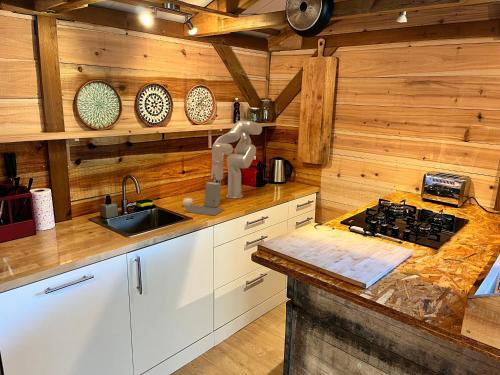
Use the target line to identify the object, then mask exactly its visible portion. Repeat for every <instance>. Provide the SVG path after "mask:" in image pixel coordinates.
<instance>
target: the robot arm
mask: <svg viewBox="0 0 500 375" xmlns="http://www.w3.org/2000/svg"><path fill="white" fill-rule="evenodd" d="M262 131H263V126H262V125H261V123H258V122H255V121H252V120H237V121H236V122H235V123H234V125H233V126H232V127H231V129H230V130H229V131H228V132H227V133H224V134H222V135H221V136H218V137H217V138H216V140H215V141H214V142H213V144H212V145H211V171H210V174H211V175H210V179H211V181H212V182H214V183H219V184H222V183H221V181H222V180H223V179H224V156H225V155H226V156H227V157H226V165H227V194H226V195H225V197H226V198H229V199H235V200H237V199H242V198H243V197H244V195H243V194H242V191H243V189H242V172H241V169H248V168H249V167H250V166H251V165H252V163H253V161H254V159H255V156H256V154H257V148H256V146H255V145H254V144H252V140H251V137H250V135H253V136H254V135H255V136H256V135H260V134H261V133H262ZM237 141H238V143H237V145H236V146H235V148H233V145H232V144H230V143H234V142H235V143H236V142H237ZM233 150H234V153H233ZM240 168H241V169H240Z"/></svg>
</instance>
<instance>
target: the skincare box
mask: <svg viewBox="0 0 500 375" xmlns="http://www.w3.org/2000/svg"><path fill="white" fill-rule="evenodd" d="M221 187H222V183H220V184H219V183H215V182H213V181H210V182H205V191H204V193H205V194H204V202H203V203H204V207H212V208H218V207H220V201H221V200H220V199H221V190H222V189H221Z"/></svg>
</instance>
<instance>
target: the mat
mask: <svg viewBox="0 0 500 375" xmlns="http://www.w3.org/2000/svg"><path fill="white" fill-rule="evenodd" d="M225 210H226V209H225V208H220V207H219V208H218V207H215V208H214V207H207V206H203V205H193V206H192V207H188V208H187V209H185V210H183V212H184V213H190V214H199V215H205V216H212V217H216V216H217V215H219V214H221V213H222V212H224V211H225Z"/></svg>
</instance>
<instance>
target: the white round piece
mask: <svg viewBox="0 0 500 375" xmlns="http://www.w3.org/2000/svg"><path fill="white" fill-rule="evenodd" d="M182 203H183V208H191V207H193V206H194V204H193V203H194V202H193V198H192V197H185V198H183V201H182Z"/></svg>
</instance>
